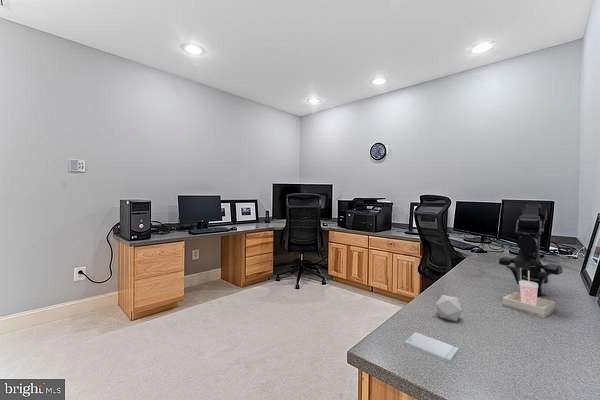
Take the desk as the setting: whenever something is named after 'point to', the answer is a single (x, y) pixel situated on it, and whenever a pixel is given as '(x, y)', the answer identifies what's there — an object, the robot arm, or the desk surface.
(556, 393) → the desk surface
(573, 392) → the desk surface
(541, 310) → the tray
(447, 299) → the die
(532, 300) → the beverage cup
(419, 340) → the hard drive
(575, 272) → the desk surface
